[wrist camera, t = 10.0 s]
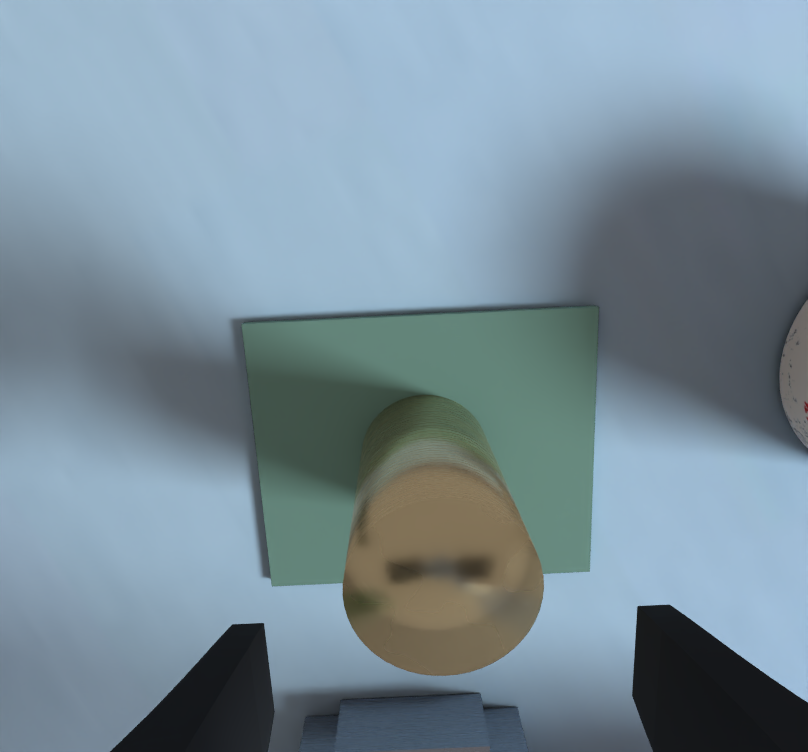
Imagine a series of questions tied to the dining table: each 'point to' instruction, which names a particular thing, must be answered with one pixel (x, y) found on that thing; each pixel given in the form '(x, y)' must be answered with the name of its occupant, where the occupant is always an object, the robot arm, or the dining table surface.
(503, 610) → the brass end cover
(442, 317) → the rubber mat
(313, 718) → the socket collar
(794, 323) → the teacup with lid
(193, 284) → the dining table surface
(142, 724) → the robot arm
